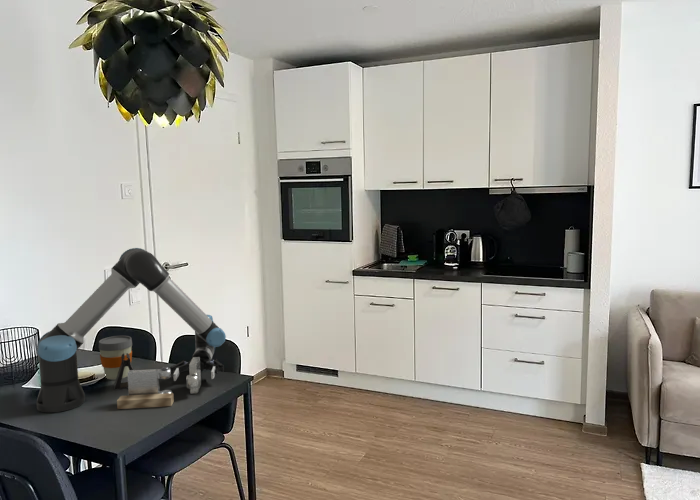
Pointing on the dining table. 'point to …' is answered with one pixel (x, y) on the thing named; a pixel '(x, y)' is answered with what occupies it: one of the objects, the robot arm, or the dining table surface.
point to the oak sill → (145, 401)
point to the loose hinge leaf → (194, 375)
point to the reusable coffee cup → (114, 354)
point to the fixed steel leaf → (147, 381)
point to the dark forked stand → (120, 373)
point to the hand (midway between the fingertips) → (193, 376)
